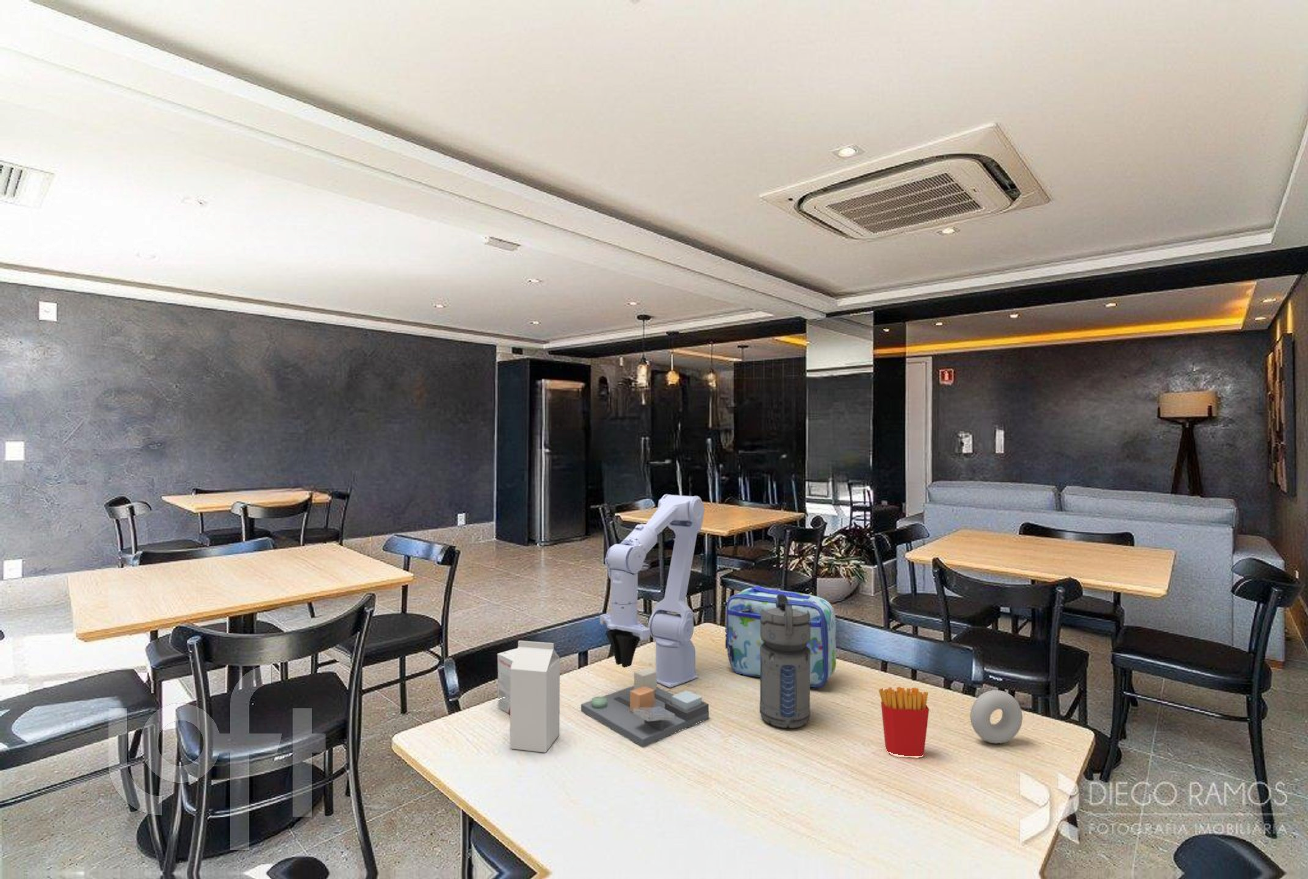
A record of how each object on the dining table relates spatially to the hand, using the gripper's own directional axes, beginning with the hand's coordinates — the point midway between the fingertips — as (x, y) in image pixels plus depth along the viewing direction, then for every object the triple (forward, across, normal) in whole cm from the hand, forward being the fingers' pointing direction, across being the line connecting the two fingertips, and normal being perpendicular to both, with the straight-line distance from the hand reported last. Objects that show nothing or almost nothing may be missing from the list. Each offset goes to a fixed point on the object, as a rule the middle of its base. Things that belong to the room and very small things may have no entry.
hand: (623, 664), depth 130 cm
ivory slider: (+8, -1, +7) cm, 10 cm away
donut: (+10, +58, +44) cm, 74 cm away
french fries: (+10, +48, +28) cm, 56 cm away
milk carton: (+10, 0, -22) cm, 24 cm away
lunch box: (+10, +11, +40) cm, 42 cm away
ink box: (+10, -14, -18) cm, 24 cm away
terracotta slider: (+8, +6, 0) cm, 10 cm away
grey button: (+6, +12, +7) cm, 15 cm away
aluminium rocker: (+5, +12, -2) cm, 14 cm away
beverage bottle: (+10, +25, +22) cm, 35 cm away
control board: (+9, +5, +2) cm, 11 cm away
